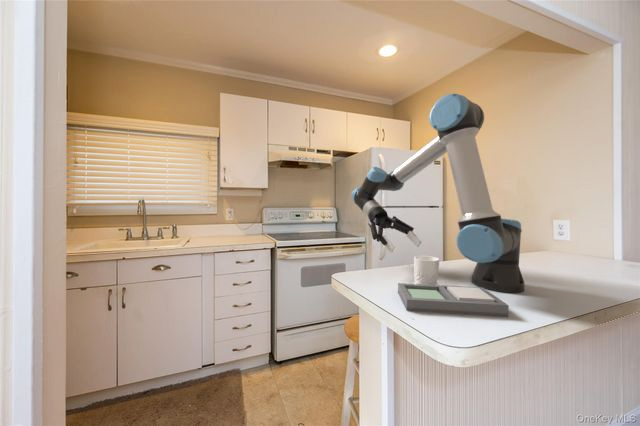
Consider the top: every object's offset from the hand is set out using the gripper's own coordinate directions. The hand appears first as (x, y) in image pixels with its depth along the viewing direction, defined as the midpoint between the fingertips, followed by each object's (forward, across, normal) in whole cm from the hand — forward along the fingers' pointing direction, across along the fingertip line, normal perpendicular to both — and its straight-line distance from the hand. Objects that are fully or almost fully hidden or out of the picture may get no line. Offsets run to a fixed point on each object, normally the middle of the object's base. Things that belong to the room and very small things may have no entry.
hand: (406, 247), depth 97 cm
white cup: (+16, +4, -3) cm, 17 cm away
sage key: (+22, +14, +4) cm, 26 cm away
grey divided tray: (+25, +9, +4) cm, 27 cm away
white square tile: (+27, +4, +8) cm, 28 cm away
